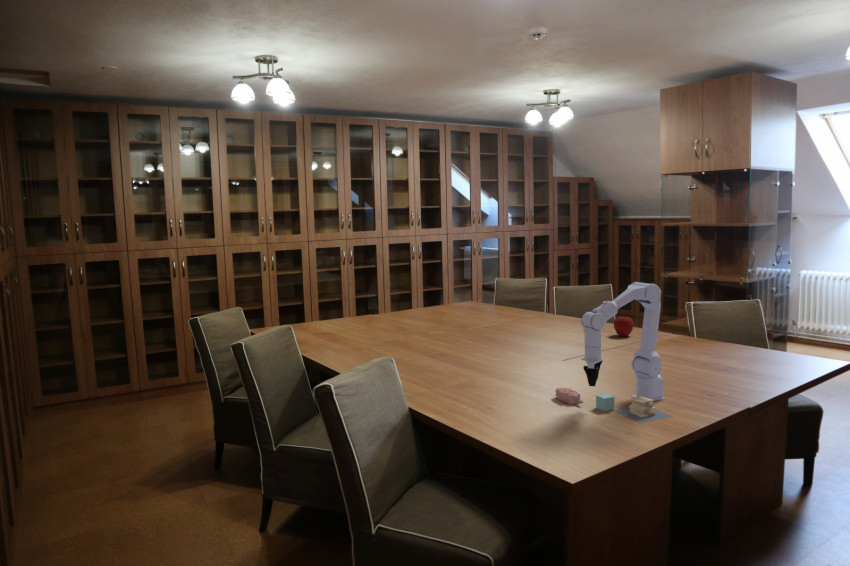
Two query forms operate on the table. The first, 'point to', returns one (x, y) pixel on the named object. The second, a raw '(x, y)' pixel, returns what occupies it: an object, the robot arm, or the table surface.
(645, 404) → the tower mid
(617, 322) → the apple
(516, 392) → the table surface
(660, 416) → the felt mat
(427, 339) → the table surface
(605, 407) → the teal block
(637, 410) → the tower base
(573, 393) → the ice cream bar
